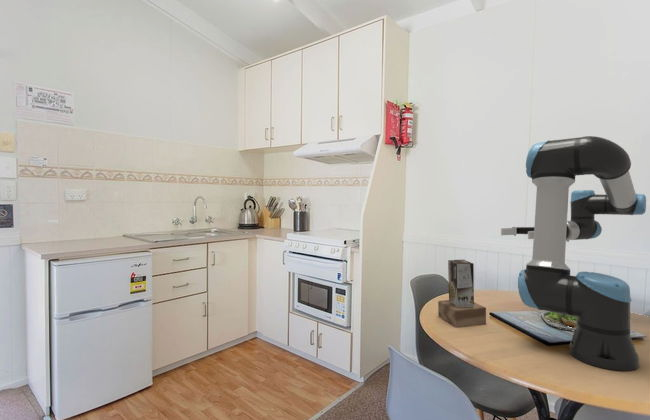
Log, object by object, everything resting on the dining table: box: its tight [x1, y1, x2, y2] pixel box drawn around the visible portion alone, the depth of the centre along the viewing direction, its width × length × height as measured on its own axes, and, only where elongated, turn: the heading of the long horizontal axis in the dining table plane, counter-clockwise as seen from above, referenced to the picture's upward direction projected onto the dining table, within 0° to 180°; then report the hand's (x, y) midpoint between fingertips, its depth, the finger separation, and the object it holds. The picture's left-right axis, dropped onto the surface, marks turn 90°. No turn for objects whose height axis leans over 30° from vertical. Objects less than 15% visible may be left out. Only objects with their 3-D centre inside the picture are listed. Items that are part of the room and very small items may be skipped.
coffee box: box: [447, 259, 475, 308], centre depth 129 cm, size 9×6×16 cm
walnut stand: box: [437, 299, 487, 328], centre depth 129 cm, size 12×12×6 cm
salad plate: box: [540, 311, 577, 332], centre depth 122 cm, size 19×18×5 cm
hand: (514, 233), depth 129 cm, fingers open, 13 cm apart
